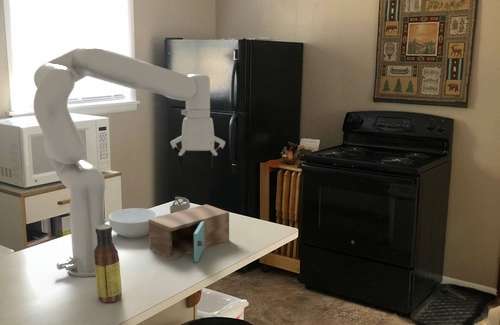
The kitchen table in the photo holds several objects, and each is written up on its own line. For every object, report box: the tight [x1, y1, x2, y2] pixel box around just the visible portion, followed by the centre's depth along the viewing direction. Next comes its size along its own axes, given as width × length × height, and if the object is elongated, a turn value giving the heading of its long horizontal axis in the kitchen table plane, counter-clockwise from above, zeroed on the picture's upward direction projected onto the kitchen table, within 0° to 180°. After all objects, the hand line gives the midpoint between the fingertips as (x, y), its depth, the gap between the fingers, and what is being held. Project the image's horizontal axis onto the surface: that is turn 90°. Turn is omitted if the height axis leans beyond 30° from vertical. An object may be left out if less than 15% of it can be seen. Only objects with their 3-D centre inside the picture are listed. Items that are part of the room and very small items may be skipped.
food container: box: [169, 196, 191, 214], centre depth 201 cm, size 12×6×10 cm, turn 179°
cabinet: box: [148, 203, 230, 259], centre depth 185 cm, size 24×12×10 cm, turn 134°
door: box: [193, 221, 206, 263], centre depth 175 cm, size 12×2×9 cm, turn 174°
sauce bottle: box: [94, 223, 123, 304], centre depth 145 cm, size 7×6×20 cm
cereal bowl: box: [108, 207, 159, 239], centre depth 195 cm, size 17×17×7 cm
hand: (198, 167), depth 180 cm, fingers open, 9 cm apart
